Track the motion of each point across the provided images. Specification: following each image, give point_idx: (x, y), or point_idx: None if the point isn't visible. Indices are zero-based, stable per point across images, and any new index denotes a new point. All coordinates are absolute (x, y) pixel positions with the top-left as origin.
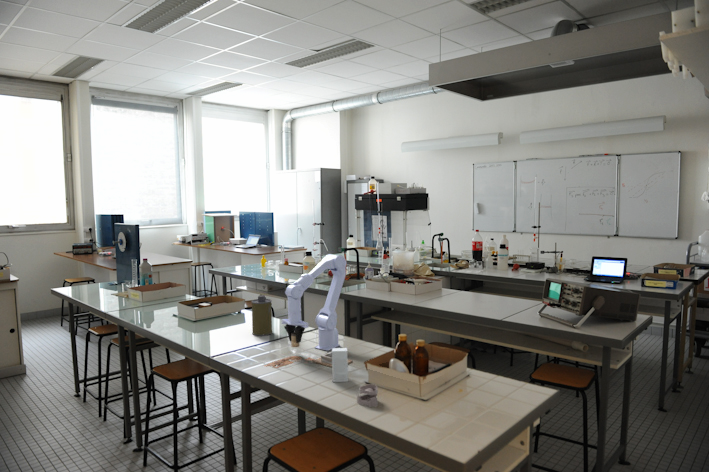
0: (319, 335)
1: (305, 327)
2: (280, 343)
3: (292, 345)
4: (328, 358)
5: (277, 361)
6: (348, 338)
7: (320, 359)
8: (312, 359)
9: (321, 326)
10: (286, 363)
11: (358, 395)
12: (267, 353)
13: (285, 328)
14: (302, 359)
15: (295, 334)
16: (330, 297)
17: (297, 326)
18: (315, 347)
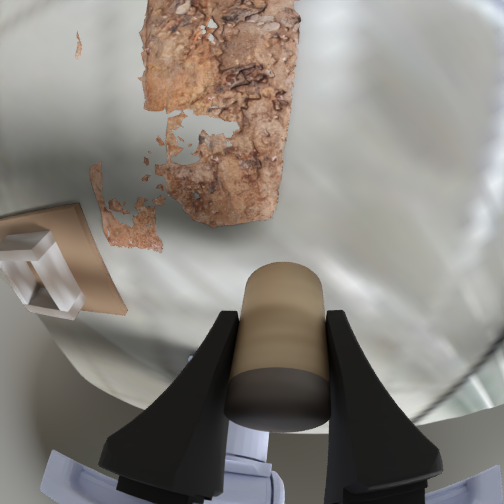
0: (236, 426)
1: (50, 456)
2: (479, 320)
3: (286, 272)
4: (8, 248)
5: (275, 32)
6: None
7: (76, 250)
8: (119, 237)
9: (237, 473)
10: (161, 50)
11: None
12: (486, 159)
13: (416, 448)
14: (159, 200)
15: (232, 395)
16: None
17: (179, 501)
18: None
